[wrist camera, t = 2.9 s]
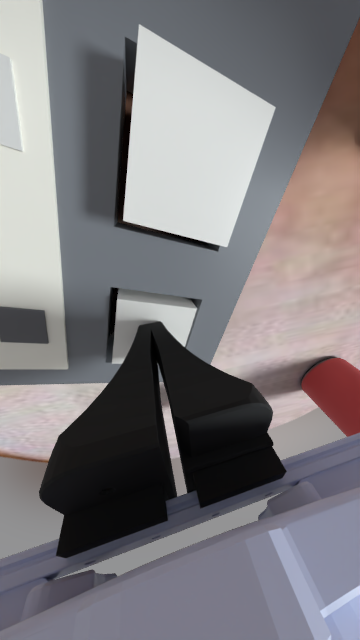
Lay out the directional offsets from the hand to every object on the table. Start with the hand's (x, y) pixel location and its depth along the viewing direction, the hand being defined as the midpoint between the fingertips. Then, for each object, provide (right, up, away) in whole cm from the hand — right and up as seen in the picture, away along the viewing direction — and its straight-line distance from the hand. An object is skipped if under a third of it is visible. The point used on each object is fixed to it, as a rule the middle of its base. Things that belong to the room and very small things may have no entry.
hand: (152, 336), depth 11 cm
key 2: (-1, +2, +2) cm, 3 cm away
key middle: (+2, +8, -2) cm, 8 cm away
